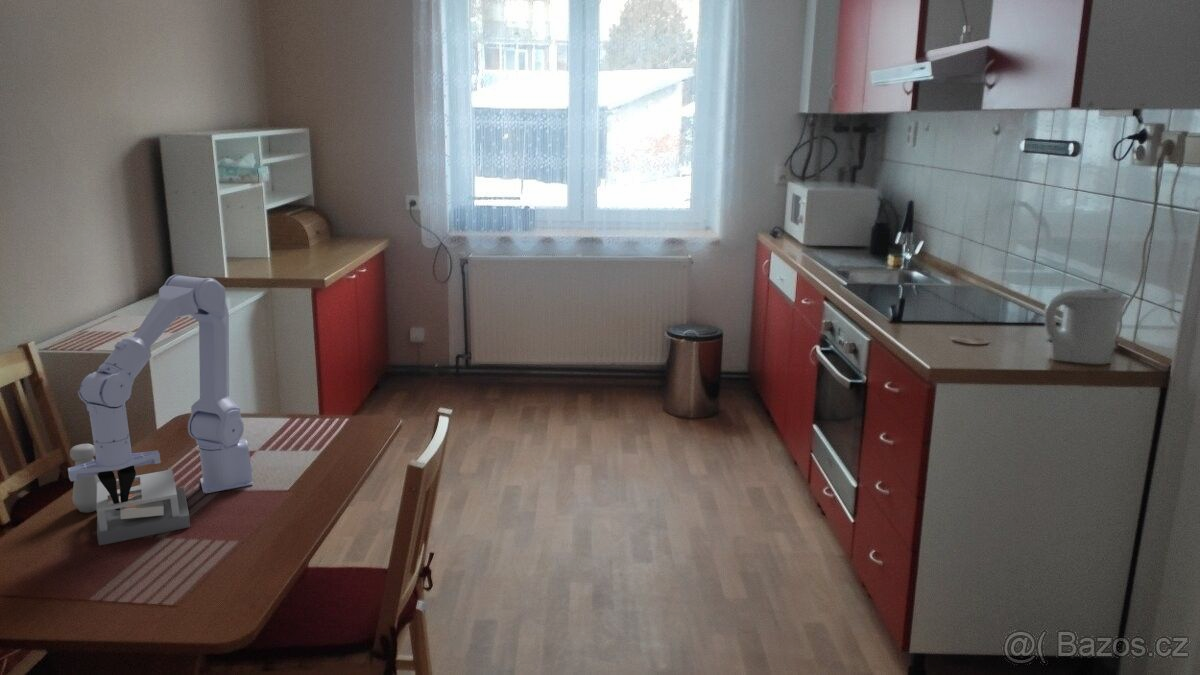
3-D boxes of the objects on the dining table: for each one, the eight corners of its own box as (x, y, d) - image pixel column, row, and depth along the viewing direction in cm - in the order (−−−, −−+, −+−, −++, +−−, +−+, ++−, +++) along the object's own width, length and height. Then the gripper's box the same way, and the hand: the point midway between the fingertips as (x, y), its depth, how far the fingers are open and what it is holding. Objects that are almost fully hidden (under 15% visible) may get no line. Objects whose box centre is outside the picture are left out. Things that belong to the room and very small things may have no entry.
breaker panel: (185, 498, 177) (180, 466, 175) (190, 526, 165) (186, 493, 163) (99, 514, 170) (94, 482, 168) (98, 545, 158) (93, 510, 156)
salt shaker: (92, 516, 169) (82, 452, 166) (67, 513, 170) (56, 450, 167) (115, 503, 175) (105, 441, 171) (90, 500, 176) (80, 439, 173)
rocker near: (162, 504, 167) (162, 495, 167) (163, 515, 163) (163, 505, 163) (120, 508, 164) (120, 499, 164) (120, 519, 160) (120, 509, 159)
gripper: (151, 423, 166) (159, 490, 169) (61, 439, 157) (72, 509, 161) (159, 434, 160) (167, 503, 164) (67, 451, 152) (78, 523, 155)
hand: (121, 507), depth 162 cm, fingers closed, pressing on rocker near
